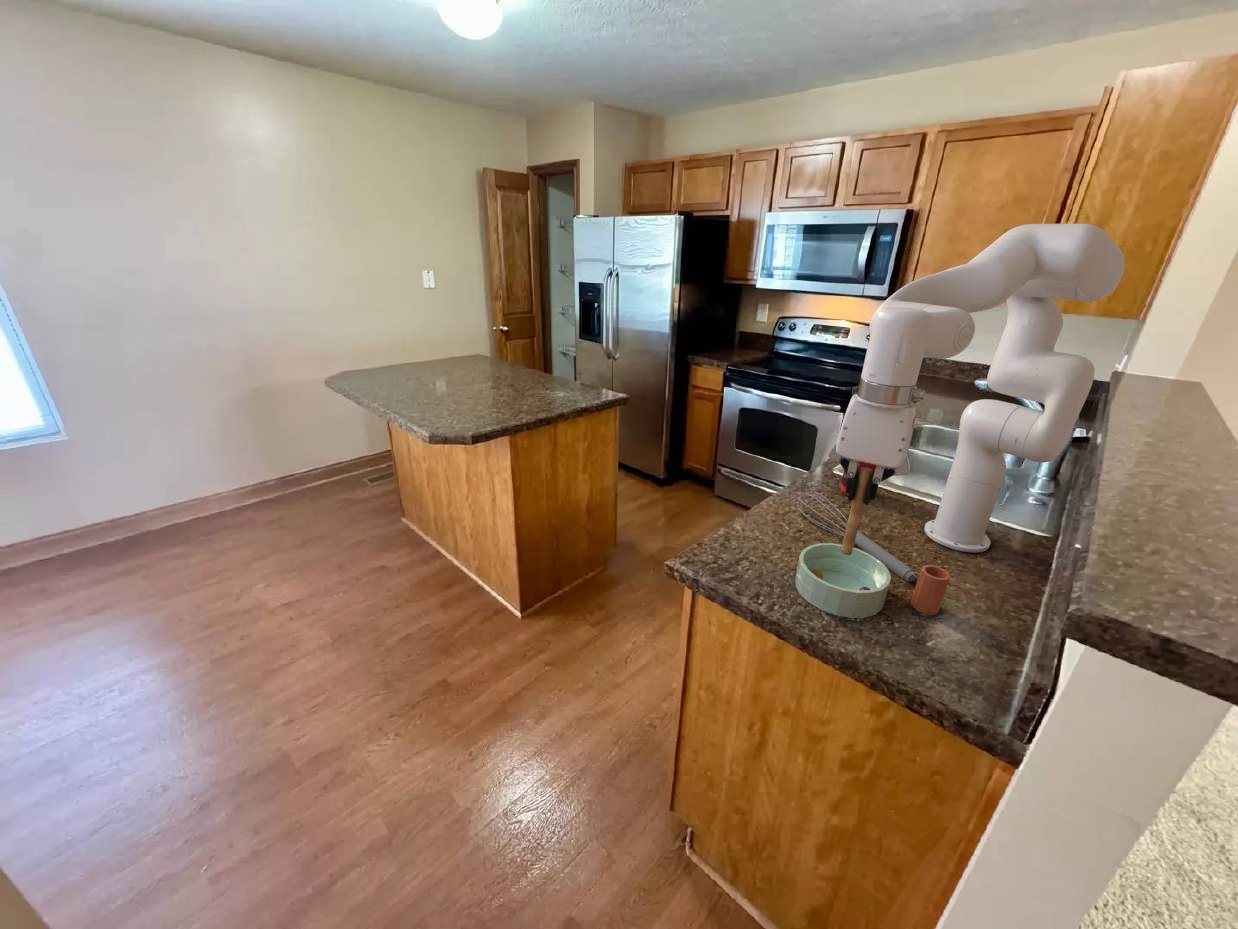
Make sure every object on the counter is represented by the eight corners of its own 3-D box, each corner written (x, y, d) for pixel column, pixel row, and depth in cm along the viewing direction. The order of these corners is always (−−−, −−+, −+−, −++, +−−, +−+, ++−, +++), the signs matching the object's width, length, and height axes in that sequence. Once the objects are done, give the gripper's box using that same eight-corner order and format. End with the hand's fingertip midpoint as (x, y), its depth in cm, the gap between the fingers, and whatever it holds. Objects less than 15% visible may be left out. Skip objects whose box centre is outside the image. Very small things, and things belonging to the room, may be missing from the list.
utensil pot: (911, 598, 95) (922, 561, 92) (938, 607, 93) (951, 570, 89) (908, 611, 91) (920, 574, 88) (937, 620, 89) (950, 583, 86)
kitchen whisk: (909, 594, 96) (917, 565, 93) (789, 512, 124) (793, 489, 122) (932, 586, 98) (941, 559, 96) (809, 508, 127) (813, 485, 124)
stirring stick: (841, 548, 91) (861, 465, 84) (852, 551, 90) (873, 468, 83) (839, 553, 89) (859, 469, 83) (850, 556, 88) (871, 472, 82)
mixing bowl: (806, 559, 106) (811, 534, 103) (888, 586, 98) (895, 559, 96) (784, 599, 94) (789, 572, 91) (875, 633, 86) (884, 604, 84)
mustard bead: (810, 575, 100) (812, 565, 99) (823, 579, 98) (825, 569, 97) (807, 581, 98) (809, 571, 97) (820, 586, 97) (822, 575, 96)
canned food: (875, 492, 135) (885, 454, 130) (864, 502, 130) (874, 462, 125) (846, 483, 140) (855, 446, 135) (834, 492, 134) (843, 454, 130)
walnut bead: (858, 593, 95) (861, 582, 94) (872, 597, 94) (875, 587, 93) (855, 600, 93) (858, 589, 92) (870, 604, 92) (873, 594, 91)
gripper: (945, 396, 77) (914, 504, 84) (836, 379, 85) (815, 480, 92) (943, 407, 71) (909, 522, 79) (825, 388, 79) (805, 495, 86)
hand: (859, 498), depth 85 cm, fingers closed on stirring stick, 1 cm apart
